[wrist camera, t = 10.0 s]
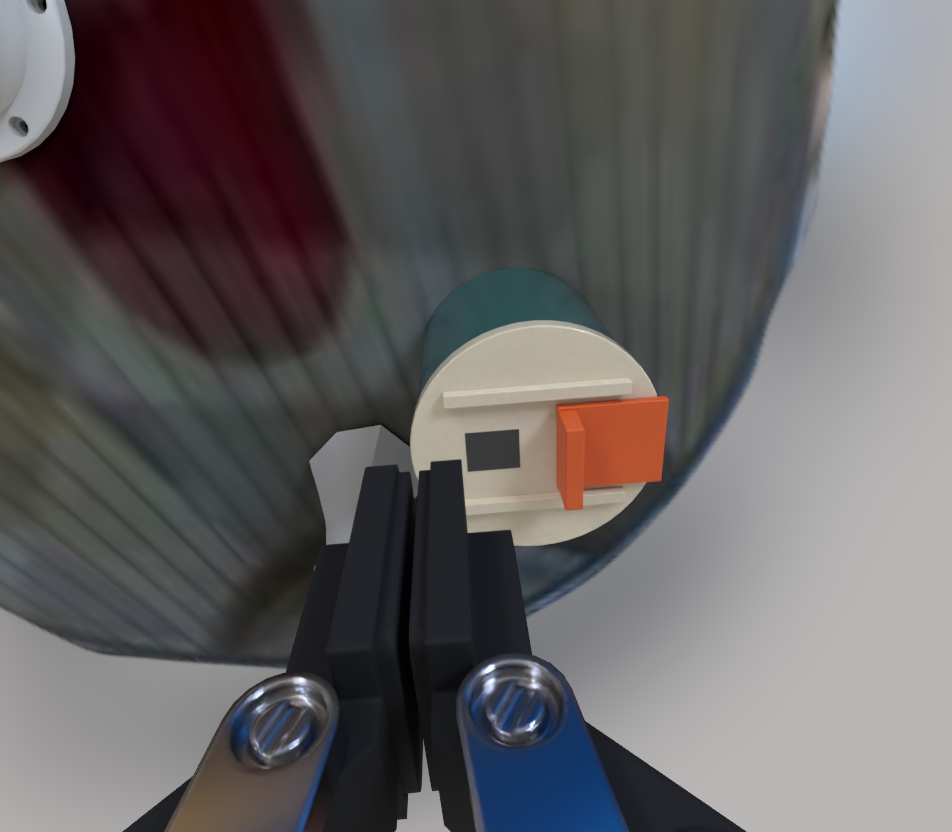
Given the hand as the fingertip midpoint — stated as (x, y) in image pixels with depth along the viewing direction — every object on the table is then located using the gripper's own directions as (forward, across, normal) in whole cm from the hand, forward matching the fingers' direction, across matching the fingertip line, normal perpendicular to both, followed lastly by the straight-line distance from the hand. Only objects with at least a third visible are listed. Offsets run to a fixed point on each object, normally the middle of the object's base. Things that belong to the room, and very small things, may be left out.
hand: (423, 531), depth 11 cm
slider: (+14, -7, +7) cm, 17 cm away
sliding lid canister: (+25, -4, +7) cm, 26 cm away
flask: (+25, +6, +14) cm, 30 cm away
